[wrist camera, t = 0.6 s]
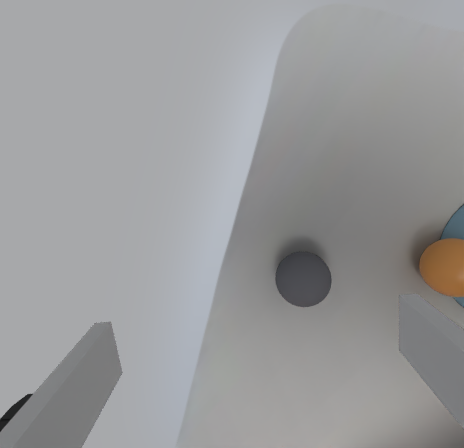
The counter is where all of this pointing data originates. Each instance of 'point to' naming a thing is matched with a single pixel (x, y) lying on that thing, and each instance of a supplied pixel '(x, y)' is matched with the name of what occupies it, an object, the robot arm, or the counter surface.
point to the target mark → (455, 235)
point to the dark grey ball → (303, 279)
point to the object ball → (444, 266)
